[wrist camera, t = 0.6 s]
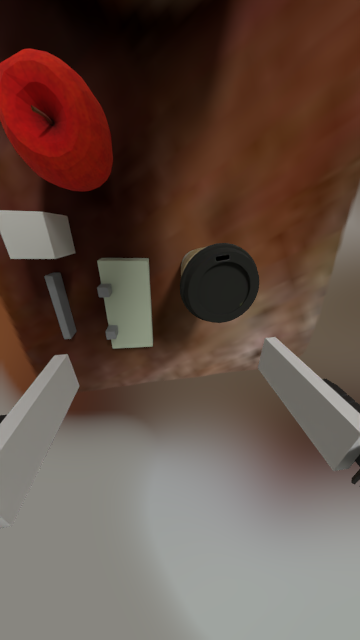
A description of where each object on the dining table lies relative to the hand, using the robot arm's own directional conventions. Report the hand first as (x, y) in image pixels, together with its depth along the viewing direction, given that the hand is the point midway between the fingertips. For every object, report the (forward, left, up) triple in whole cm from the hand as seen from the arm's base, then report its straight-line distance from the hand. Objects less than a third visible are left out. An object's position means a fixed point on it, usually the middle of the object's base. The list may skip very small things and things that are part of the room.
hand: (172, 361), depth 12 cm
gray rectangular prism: (-7, -17, -25) cm, 31 cm away
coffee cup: (-2, +7, -25) cm, 26 cm away
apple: (-17, -10, -25) cm, 32 cm away
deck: (+5, -11, -25) cm, 27 cm away
